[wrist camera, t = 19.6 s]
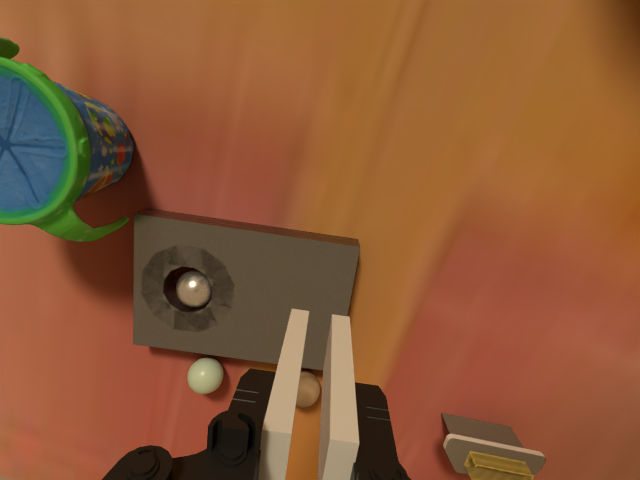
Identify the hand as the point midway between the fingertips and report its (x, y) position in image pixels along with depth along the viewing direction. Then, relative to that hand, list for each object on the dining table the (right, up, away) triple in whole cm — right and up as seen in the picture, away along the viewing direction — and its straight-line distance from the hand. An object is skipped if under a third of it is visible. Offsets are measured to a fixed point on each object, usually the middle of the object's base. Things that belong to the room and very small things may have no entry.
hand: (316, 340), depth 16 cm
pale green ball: (-11, -9, +21) cm, 26 cm away
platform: (+17, -16, +25) cm, 34 cm away
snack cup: (-20, +13, +17) cm, 29 cm away
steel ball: (-12, 0, +18) cm, 22 cm away
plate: (-7, 0, +20) cm, 21 cm away
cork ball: (-2, -11, +21) cm, 24 cm away
